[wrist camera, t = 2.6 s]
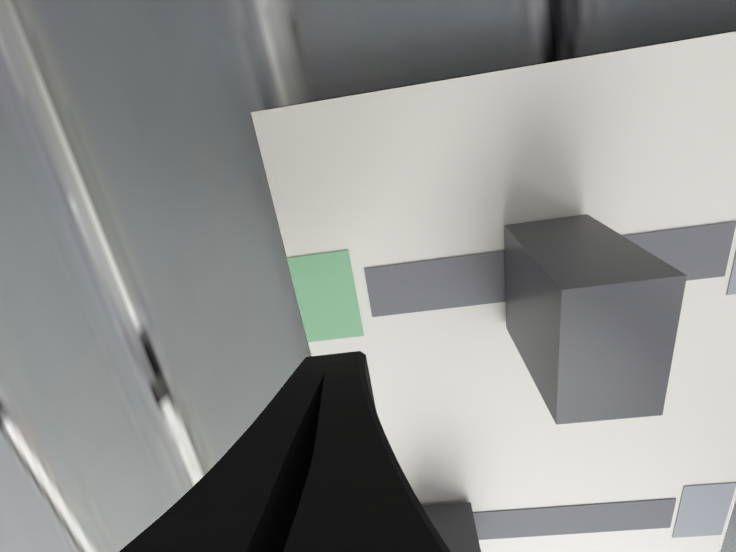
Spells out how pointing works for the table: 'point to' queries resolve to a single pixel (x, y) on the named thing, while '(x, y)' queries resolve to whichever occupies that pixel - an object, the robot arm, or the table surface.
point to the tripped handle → (591, 318)
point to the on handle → (455, 526)
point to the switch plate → (487, 281)
